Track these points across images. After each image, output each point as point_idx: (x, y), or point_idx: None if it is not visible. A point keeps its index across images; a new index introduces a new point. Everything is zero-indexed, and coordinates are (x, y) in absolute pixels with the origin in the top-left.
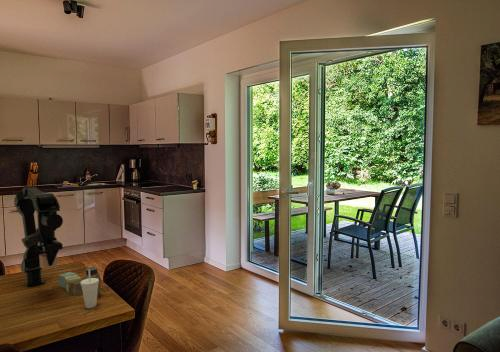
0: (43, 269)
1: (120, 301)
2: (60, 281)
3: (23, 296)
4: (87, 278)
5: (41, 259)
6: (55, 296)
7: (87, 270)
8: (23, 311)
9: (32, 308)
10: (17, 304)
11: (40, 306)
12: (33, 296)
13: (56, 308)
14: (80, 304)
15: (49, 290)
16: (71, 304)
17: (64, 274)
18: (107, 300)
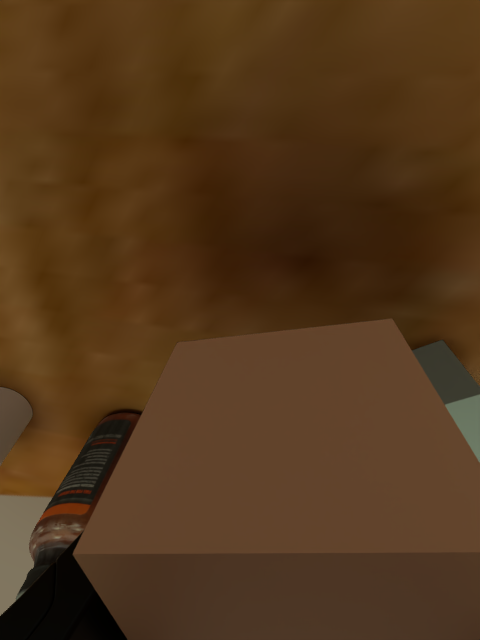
0: (178, 344)
1: (22, 493)
2: (443, 367)
3: (430, 67)
4: (38, 524)
5: (241, 455)
6: (250, 292)
7: (27, 588)
8: (63, 63)
9: (97, 133)
10: (249, 9)
11: (111, 188)
12: (361, 153)
13: (37, 271)
14: (49, 377)
15: (410, 274)
16: (67, 344)
17: (464, 426)
18: (53, 466)
